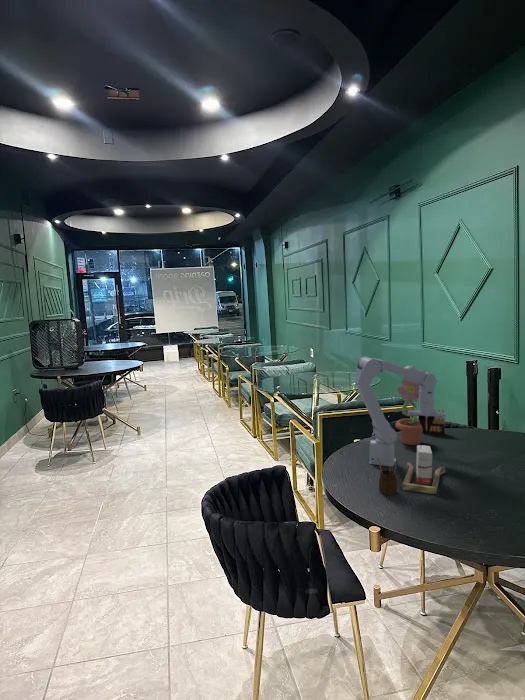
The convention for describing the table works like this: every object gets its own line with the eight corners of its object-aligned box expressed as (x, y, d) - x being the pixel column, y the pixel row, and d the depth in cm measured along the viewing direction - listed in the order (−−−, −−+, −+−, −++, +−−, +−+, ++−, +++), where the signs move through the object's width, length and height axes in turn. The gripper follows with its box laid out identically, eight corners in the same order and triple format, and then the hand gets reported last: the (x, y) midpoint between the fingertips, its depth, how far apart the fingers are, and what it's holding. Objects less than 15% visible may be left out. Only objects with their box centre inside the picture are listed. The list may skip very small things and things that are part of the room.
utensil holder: (396, 496, 154) (396, 462, 152) (377, 494, 156) (376, 460, 154) (397, 489, 159) (397, 456, 158) (379, 487, 161) (378, 454, 160)
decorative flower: (391, 446, 203) (390, 380, 199) (394, 436, 216) (394, 375, 212) (426, 449, 197) (426, 381, 194) (428, 439, 210) (428, 375, 206)
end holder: (398, 488, 159) (398, 483, 159) (407, 467, 178) (407, 462, 178) (440, 494, 153) (440, 489, 153) (445, 471, 172) (445, 466, 172)
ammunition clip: (421, 433, 220) (420, 408, 218) (421, 431, 221) (421, 407, 220) (444, 434, 216) (444, 410, 214) (444, 433, 217) (444, 409, 216)
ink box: (432, 485, 161) (432, 453, 160) (417, 484, 162) (417, 452, 161) (430, 475, 169) (430, 445, 168) (415, 474, 171) (415, 444, 169)
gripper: (446, 400, 184) (446, 432, 186) (409, 398, 190) (409, 429, 192) (445, 404, 178) (445, 437, 179) (406, 402, 184) (407, 434, 186)
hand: (426, 434), depth 185 cm, fingers closed
